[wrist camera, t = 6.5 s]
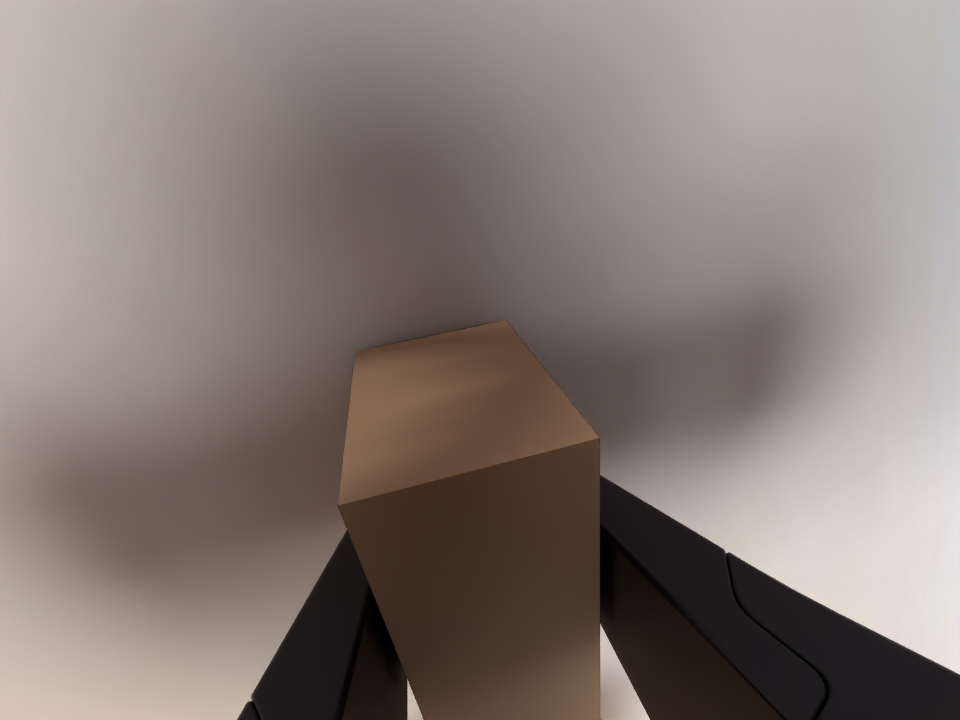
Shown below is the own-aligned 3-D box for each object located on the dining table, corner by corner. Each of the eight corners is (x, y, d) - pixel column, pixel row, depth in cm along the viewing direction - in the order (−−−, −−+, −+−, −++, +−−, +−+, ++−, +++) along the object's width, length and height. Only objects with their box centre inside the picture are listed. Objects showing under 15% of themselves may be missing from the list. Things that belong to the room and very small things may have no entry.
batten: (505, 320, 8) (599, 437, 5) (553, 737, 17) (600, 892, 13) (355, 352, 8) (338, 505, 4) (480, 762, 16) (508, 930, 13)
